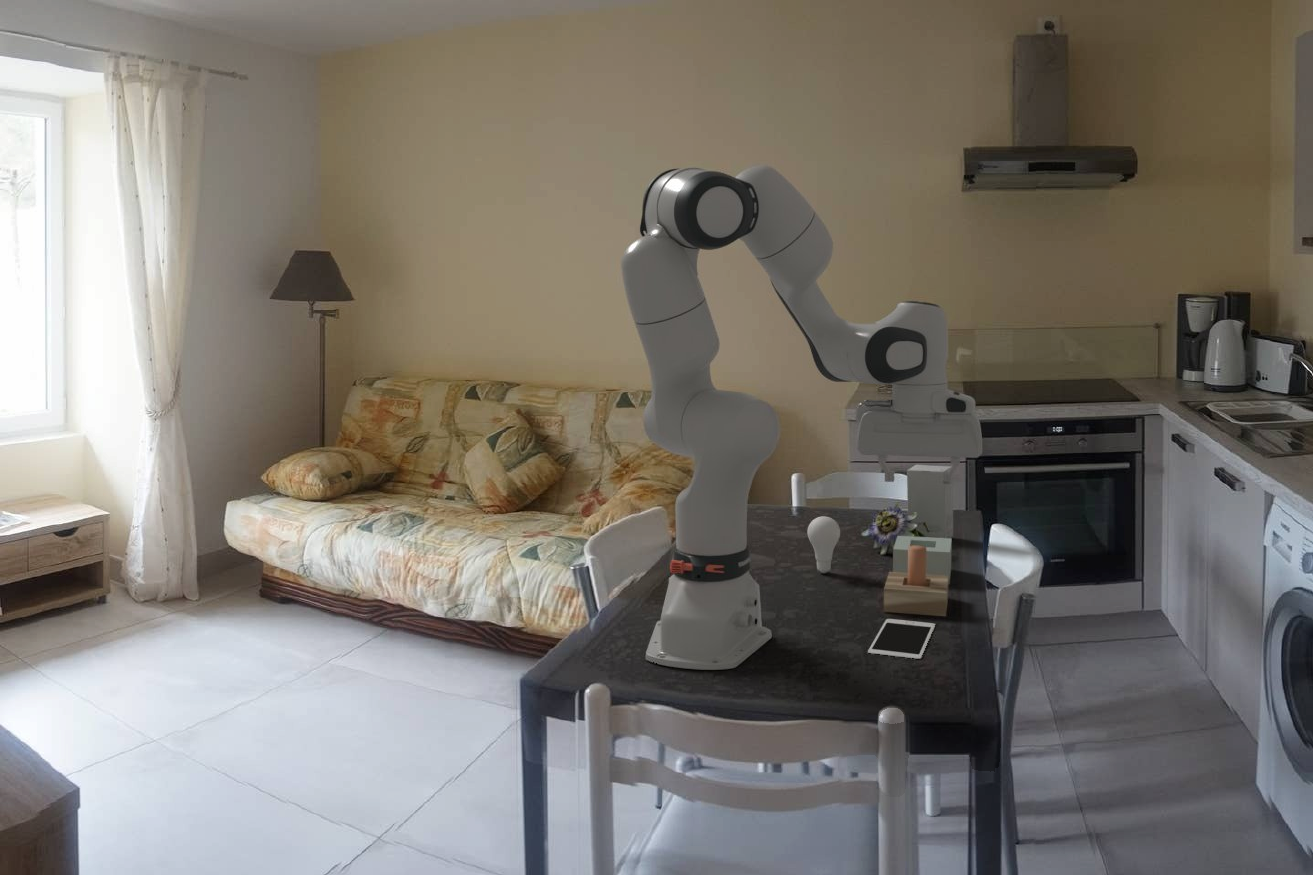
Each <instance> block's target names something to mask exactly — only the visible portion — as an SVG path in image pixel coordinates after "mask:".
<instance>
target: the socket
mask: <svg viewBox="0 0 1313 875" xmlns="http://www.w3.org/2000/svg"><path fill="white" fill-rule="evenodd" d="M915 545H916V546H924V547H926V574H931V575H947V576H948V585H950V582H951V572H952V538H932V537H912V536H897V539H896V542H895V545H894V548H892V572H899V573H908V547H909V546H915Z"/></svg>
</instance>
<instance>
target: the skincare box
mask: <svg viewBox="0 0 1313 875" xmlns="http://www.w3.org/2000/svg"><path fill="white" fill-rule="evenodd" d="M951 467H952V465H947V466H946V465H928V464H914V465H913V466H911V467H910V468H908V469H907V470H906V484H907V485H906V486H907V488H906V489H907V490H906V491H907V492H906V493H907V494H906V496H907V497H906V498H907V514H908V513H914V512H916V513H917V517H916V518H914V519H913V520H912V521H910V522H911V523H914V524H919V523H922V524H919V525H917V528H916V530H917V531H919V532H921V533H922V534H923V535H925V536H926V537H932V538H951V539H952V538H953V537H954V496H953V495H954V491H953V490H954V488H953V486H954V485H953V482H954V481H952V484H943V472H949V470H950V469H951ZM923 522H926V524H927V526H928V528H929V529H930V532H927V529H926V527H925V526H924V525H923Z"/></svg>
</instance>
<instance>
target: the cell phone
mask: <svg viewBox="0 0 1313 875" xmlns="http://www.w3.org/2000/svg"><path fill="white" fill-rule="evenodd" d="M935 625H936V623H933V622H924V621H915V620H907V619H906V620H903V619H893V618H886V619H885V621H884V622H883V624H882V626H881V627H880V629H879V631H878V633H877V634H876V636H875V638H874V640H873V642H872V643H871V645H870V647H869V648H868V650H867V654H868V653H871V654H870V655H874V654H880V655H879V656H882V655H888V656H887V657H890V656H895V657H894V658H898V657H905V658H904V659H907V658H911V659H910V660H915V659H921V658H923V656H924V654H923V653H925V652H926V649H927V647H926V646H928V644H929V642H928V641H930V640H929V639H931V637H932V635H933V633H932V632H934V630H935V627H936V626H935ZM931 634H932V635H931ZM927 643H928V644H927ZM925 648H926V649H925ZM924 651H925V652H924ZM922 655H923V656H922ZM912 658H914V659H912ZM921 660H922V659H921Z"/></svg>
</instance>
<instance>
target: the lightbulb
mask: <svg viewBox="0 0 1313 875" xmlns="http://www.w3.org/2000/svg"><path fill="white" fill-rule="evenodd" d="M806 533H807V537H808V539H809V542H810V544H811V546H812V547H813V550H814V554H815V555H814V556H815V561H816V570H817V571H819V572H820V573H822V574H826V573H828V572H829V571H831V564H832V560H833V553H834V549H835V547H836V545H837V543H838V542H839V539H840V537H841V529H840V525H839V524H838V522H837V521H836V520H835V519H834V518H831V517H829V516H825V515H823V516H818V517H815V518H814V519H813V520H811V521H810V523H809V525H808V526H807V532H806Z"/></svg>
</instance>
